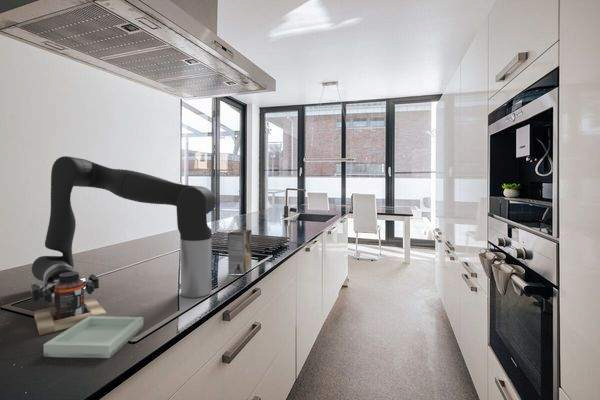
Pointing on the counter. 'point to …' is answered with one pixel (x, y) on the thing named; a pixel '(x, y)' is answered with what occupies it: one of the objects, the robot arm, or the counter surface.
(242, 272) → the coffee box
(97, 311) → the frame
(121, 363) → the counter surface
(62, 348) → the tray
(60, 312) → the supplement bottle
